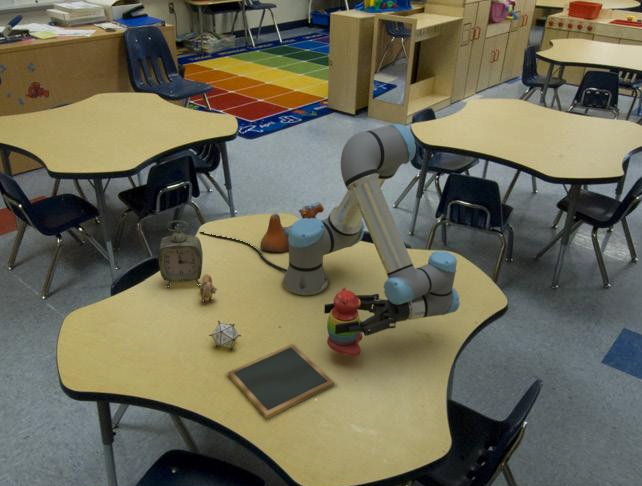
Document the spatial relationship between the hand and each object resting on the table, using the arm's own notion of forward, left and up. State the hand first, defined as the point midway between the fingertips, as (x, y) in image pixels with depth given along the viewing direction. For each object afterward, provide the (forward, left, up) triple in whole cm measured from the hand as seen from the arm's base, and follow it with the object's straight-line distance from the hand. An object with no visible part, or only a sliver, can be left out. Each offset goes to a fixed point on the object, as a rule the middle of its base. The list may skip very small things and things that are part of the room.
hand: (330, 319), depth 163 cm
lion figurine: (-48, -14, -15) cm, 52 cm away
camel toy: (-61, +30, -15) cm, 70 cm away
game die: (-22, -22, -15) cm, 35 cm away
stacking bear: (+2, +4, -10) cm, 11 cm away
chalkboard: (0, -17, -15) cm, 22 cm away
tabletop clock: (-61, -17, -15) cm, 65 cm away
